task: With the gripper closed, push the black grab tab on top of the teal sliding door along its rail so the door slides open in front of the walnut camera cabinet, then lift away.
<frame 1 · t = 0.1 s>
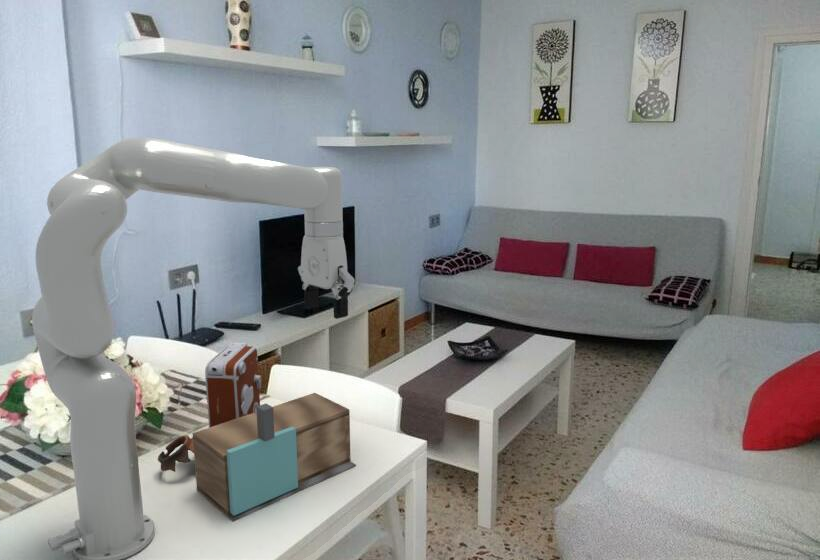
hand: (326, 312, 130), 31 cm above the table, tool pointing down, fingers open, 9 cm apart
cabinet: (276, 476, 127), on the table
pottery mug: (191, 469, 130), on the table
cine camera: (241, 431, 146), on the table
door: (263, 454, 115), point 10 cm above the table, slide at 0.0 cm
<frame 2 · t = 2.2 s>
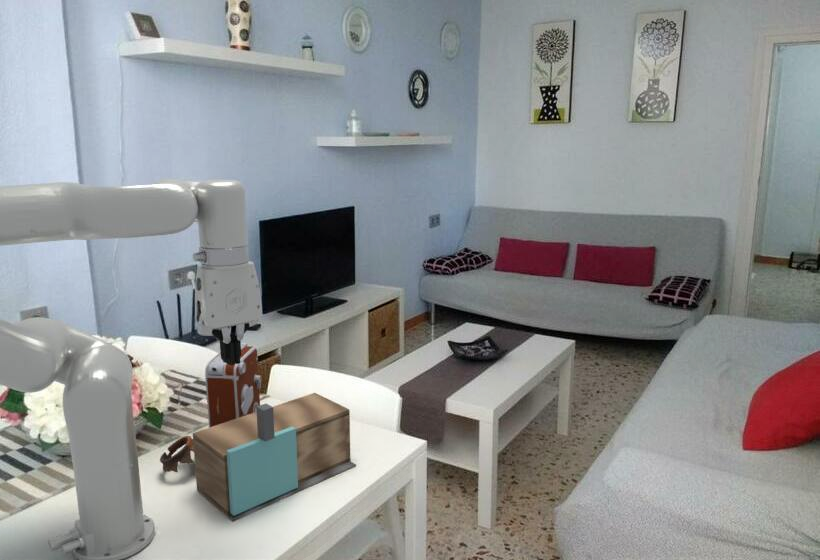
hand: (231, 362, 108), 29 cm above the table, tool pointing down, fingers closed
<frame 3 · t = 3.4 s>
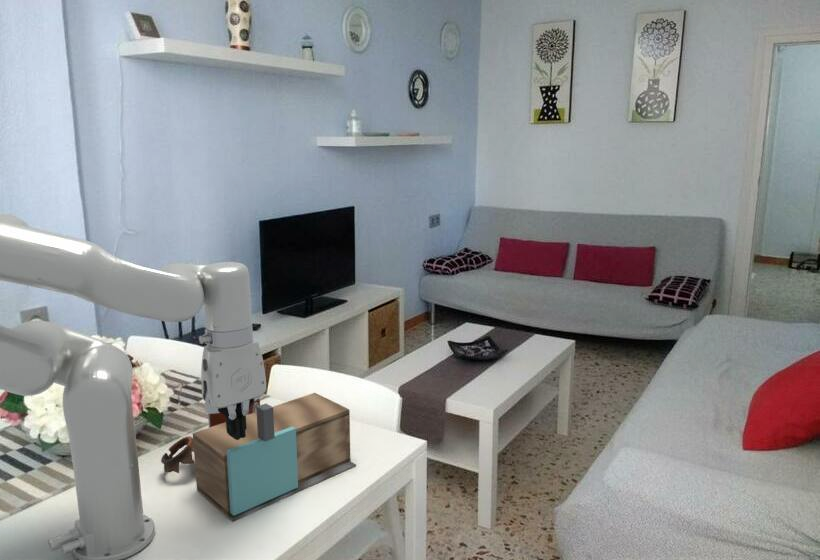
hand: (237, 436, 111), 15 cm above the table, tool pointing down, fingers closed
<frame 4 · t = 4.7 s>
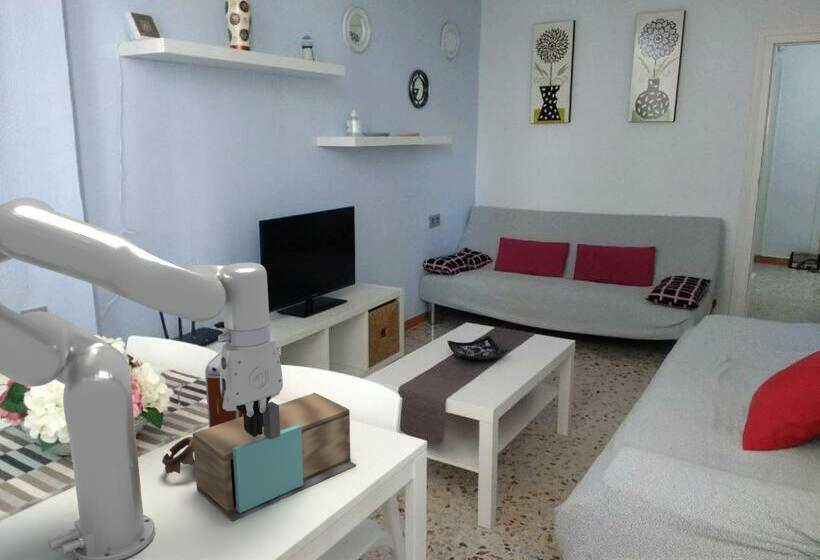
hand: (254, 432, 113), 15 cm above the table, tool pointing down, fingers closed
door: (269, 452, 116), point 10 cm above the table, slide at 1.2 cm, touching gripper
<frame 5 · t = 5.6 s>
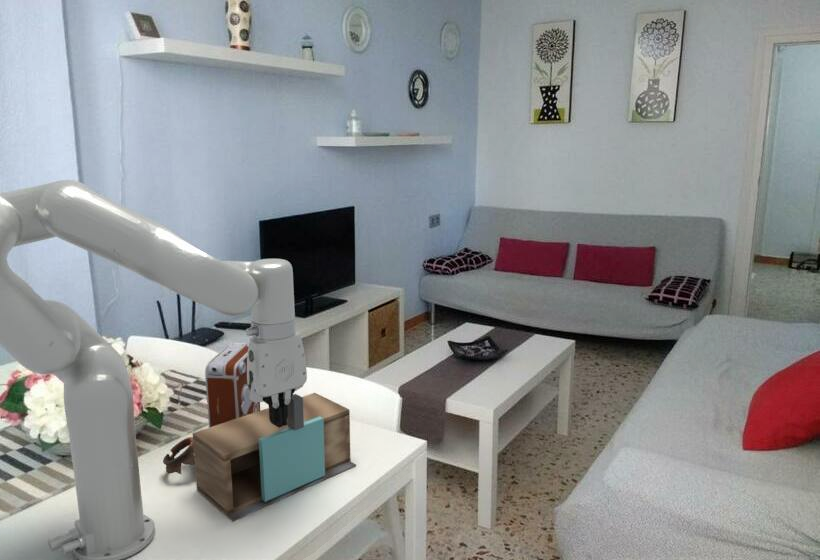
hand: (279, 424, 117), 15 cm above the table, tool pointing down, fingers closed
door: (292, 443, 120), point 10 cm above the table, slide at 6.4 cm, touching gripper
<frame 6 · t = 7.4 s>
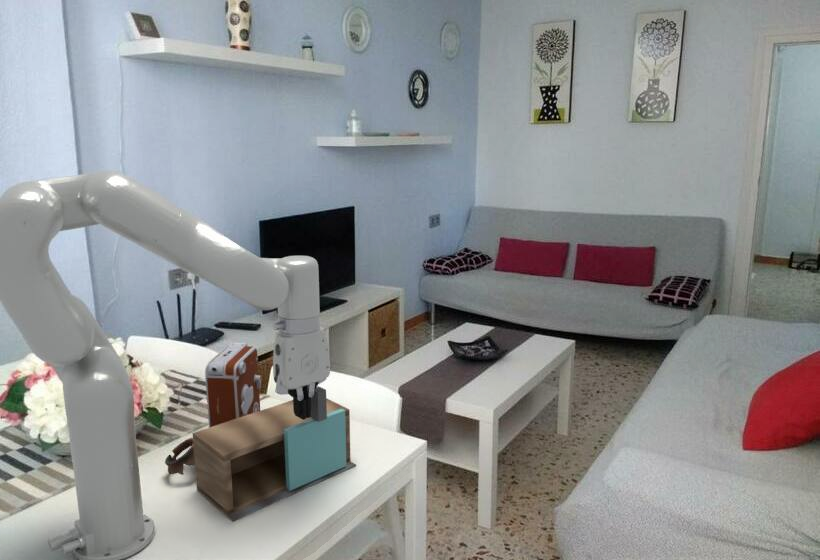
hand: (302, 416, 120), 15 cm above the table, tool pointing down, fingers closed
door: (316, 434, 123), point 10 cm above the table, slide at 11.7 cm, touching gripper
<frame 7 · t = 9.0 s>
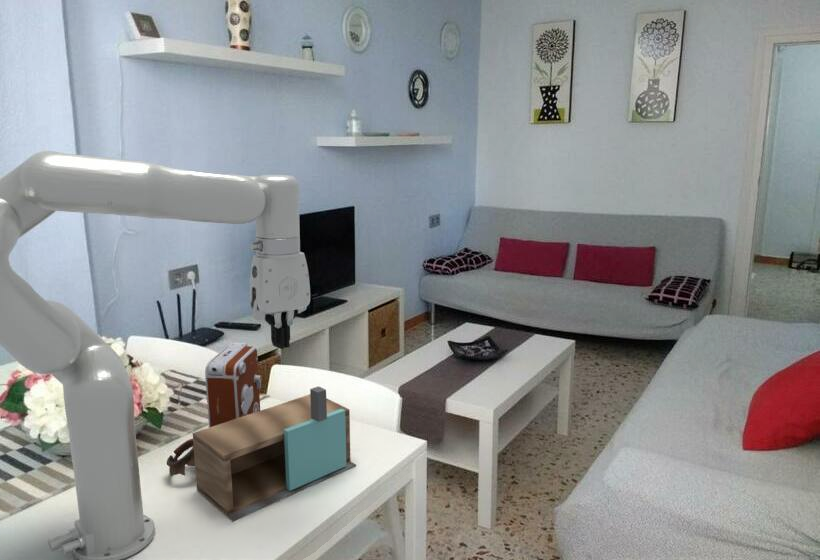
hand: (280, 346, 115), 29 cm above the table, tool pointing down, fingers closed
door: (316, 434, 123), point 10 cm above the table, slide at 11.7 cm
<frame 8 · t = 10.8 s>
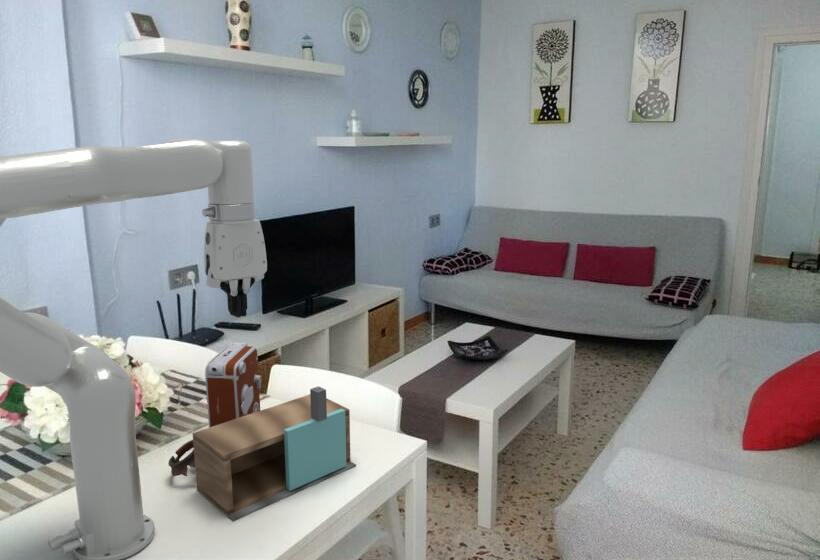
hand: (238, 315, 114), 35 cm above the table, tool pointing down, fingers closed
at the end: door slide at 11.7 cm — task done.
